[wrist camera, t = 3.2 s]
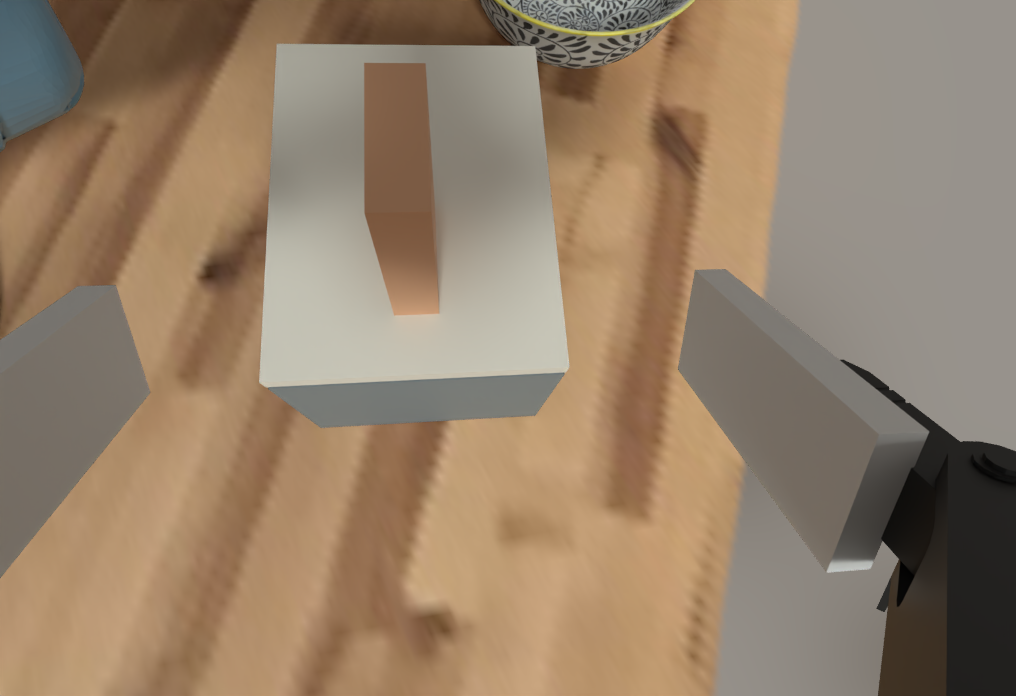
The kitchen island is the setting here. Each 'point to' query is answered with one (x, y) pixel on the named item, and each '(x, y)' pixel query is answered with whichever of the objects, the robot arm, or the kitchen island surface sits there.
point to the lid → (409, 217)
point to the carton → (420, 399)
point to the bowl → (582, 27)
